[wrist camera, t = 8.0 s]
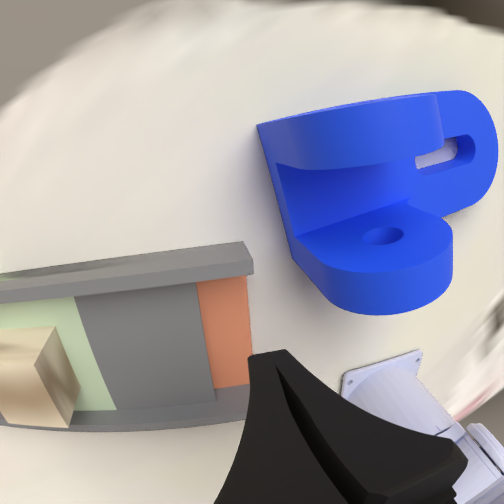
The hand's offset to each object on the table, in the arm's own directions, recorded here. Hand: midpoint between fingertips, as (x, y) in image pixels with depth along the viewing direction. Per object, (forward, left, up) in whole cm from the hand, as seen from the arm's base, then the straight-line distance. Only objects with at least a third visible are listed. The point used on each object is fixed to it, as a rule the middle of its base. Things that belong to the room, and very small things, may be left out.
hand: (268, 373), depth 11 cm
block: (-4, +14, -8) cm, 17 cm away
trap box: (-4, +13, -9) cm, 16 cm away
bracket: (+6, -12, -10) cm, 17 cm away
